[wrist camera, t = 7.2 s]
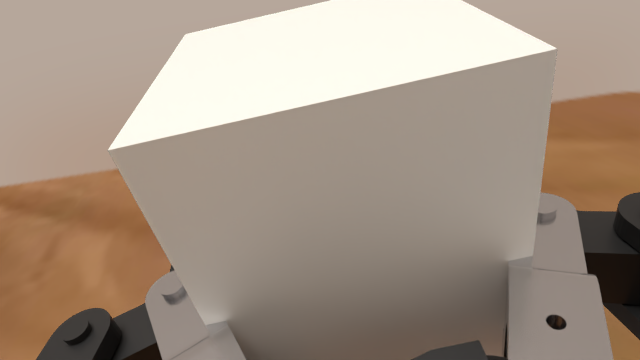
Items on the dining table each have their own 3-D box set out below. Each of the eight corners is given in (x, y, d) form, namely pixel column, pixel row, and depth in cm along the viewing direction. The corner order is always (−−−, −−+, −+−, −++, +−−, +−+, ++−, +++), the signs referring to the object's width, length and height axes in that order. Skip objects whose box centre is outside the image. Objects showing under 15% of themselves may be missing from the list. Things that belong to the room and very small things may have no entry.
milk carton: (510, 462, 12) (563, 48, 5) (302, 503, 12) (102, 152, 6) (440, 296, 17) (421, -22, 10) (293, 327, 17) (184, 34, 11)
